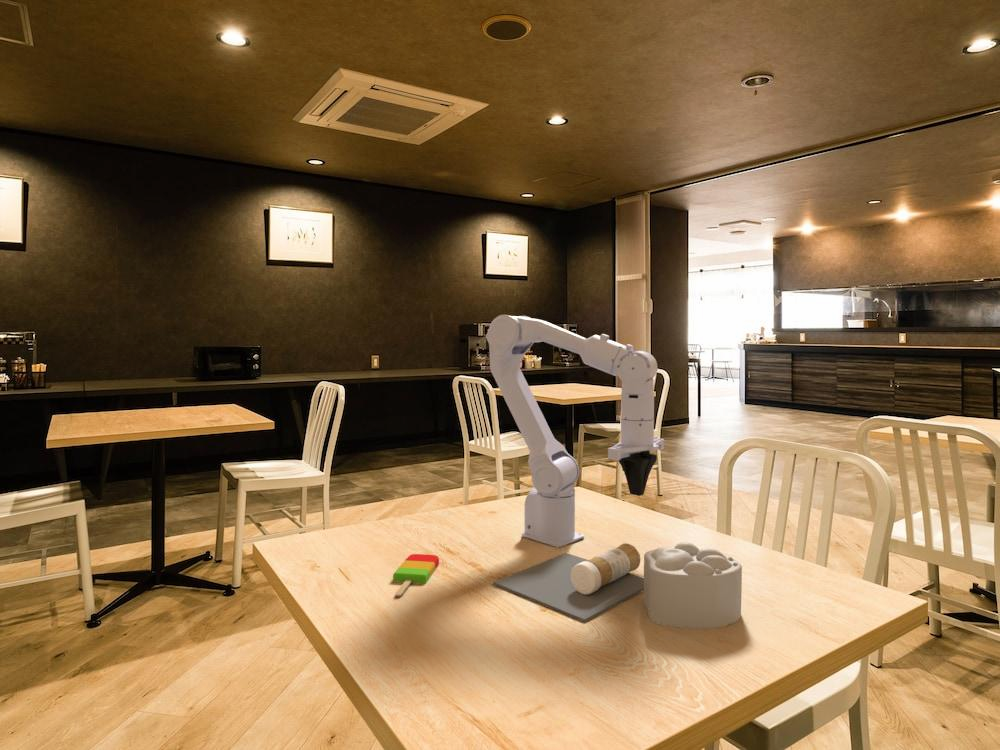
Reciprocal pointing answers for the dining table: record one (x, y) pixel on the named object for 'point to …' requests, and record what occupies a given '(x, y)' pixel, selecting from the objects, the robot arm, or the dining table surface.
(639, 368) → the robot arm
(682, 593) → the lumpy-topped squat cylinder
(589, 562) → the sprinkles bottle
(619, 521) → the dining table surface
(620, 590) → the rubber mat
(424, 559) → the popsicle
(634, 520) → the dining table surface
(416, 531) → the dining table surface
